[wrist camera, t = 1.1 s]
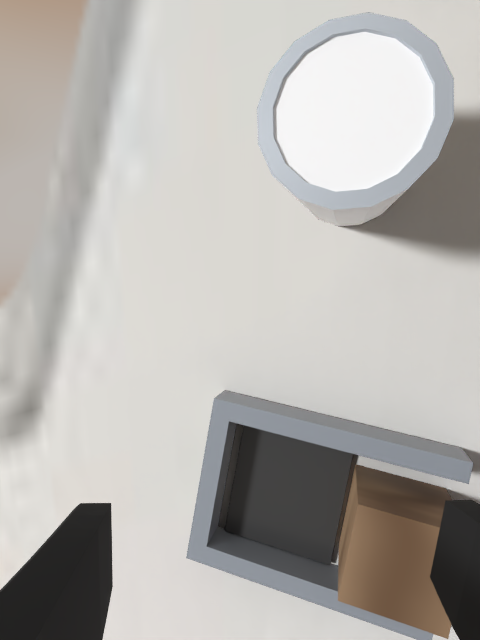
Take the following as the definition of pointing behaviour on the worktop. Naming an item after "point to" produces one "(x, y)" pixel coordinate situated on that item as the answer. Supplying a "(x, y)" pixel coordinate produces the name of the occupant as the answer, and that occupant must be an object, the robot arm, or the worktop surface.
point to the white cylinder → (355, 115)
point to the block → (392, 549)
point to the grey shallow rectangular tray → (295, 495)
